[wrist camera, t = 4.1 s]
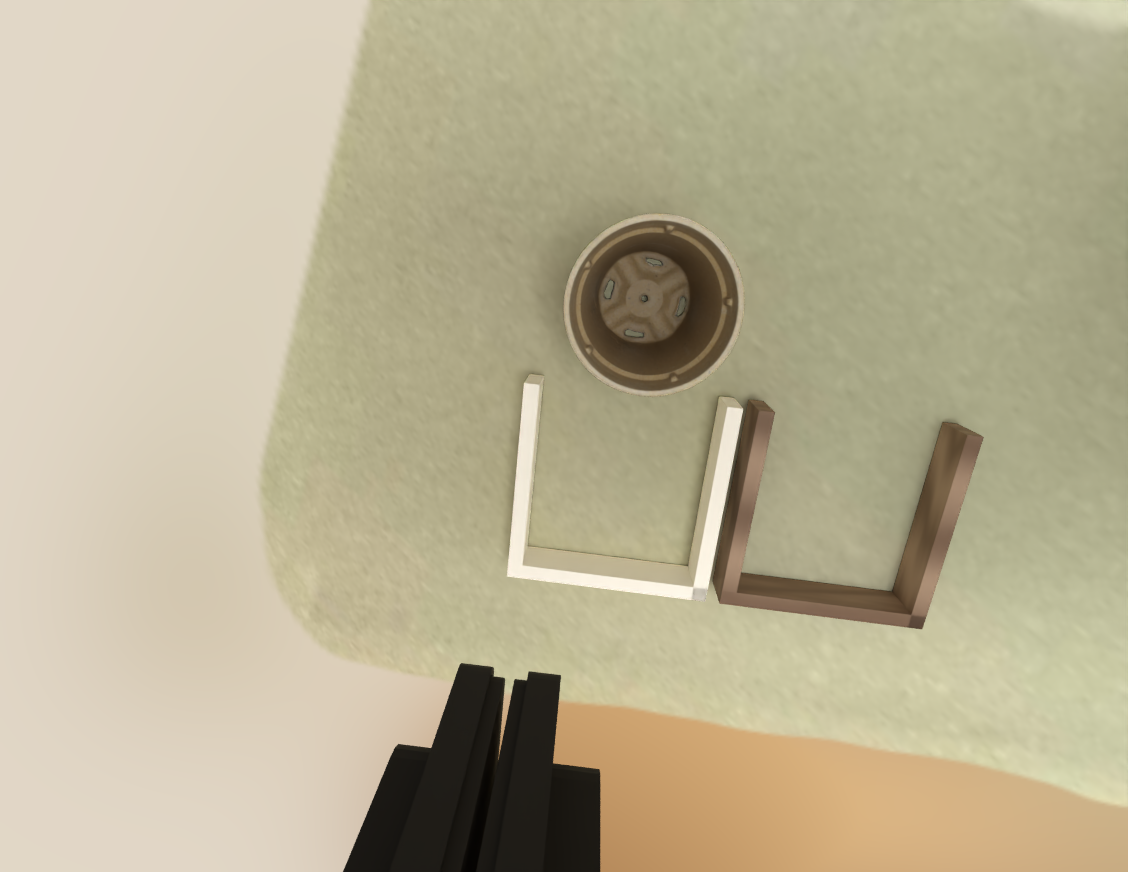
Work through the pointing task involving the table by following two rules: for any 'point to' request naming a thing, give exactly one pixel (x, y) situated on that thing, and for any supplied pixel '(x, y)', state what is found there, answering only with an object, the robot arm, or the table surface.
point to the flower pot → (654, 305)
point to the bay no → (839, 601)
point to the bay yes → (615, 569)
